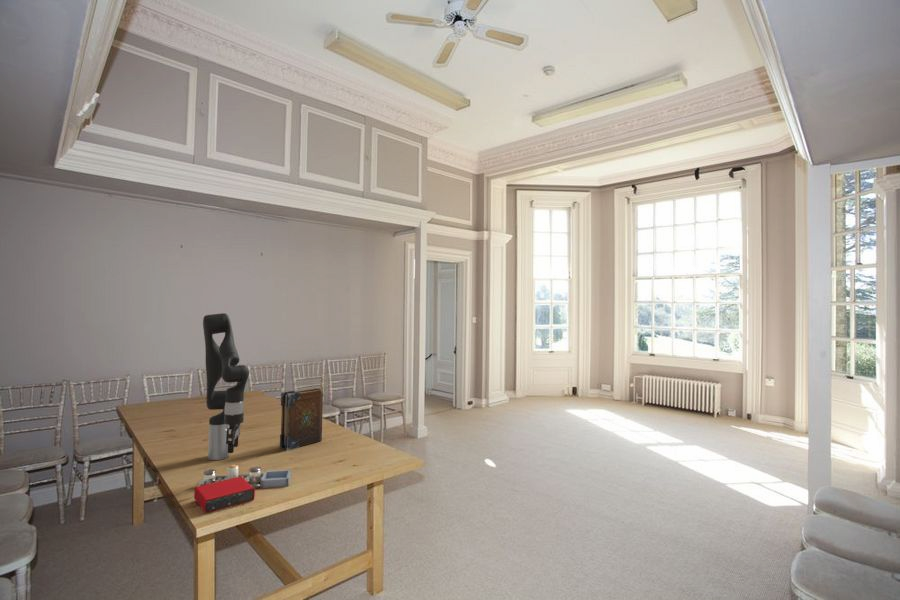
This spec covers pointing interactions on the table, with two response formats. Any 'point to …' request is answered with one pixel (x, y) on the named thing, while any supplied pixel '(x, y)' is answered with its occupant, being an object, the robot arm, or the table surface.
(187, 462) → the table surface
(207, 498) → the red device housing
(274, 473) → the tray
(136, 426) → the table surface
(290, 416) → the decorative book
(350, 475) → the table surface
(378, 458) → the table surface
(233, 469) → the halved boiled egg
